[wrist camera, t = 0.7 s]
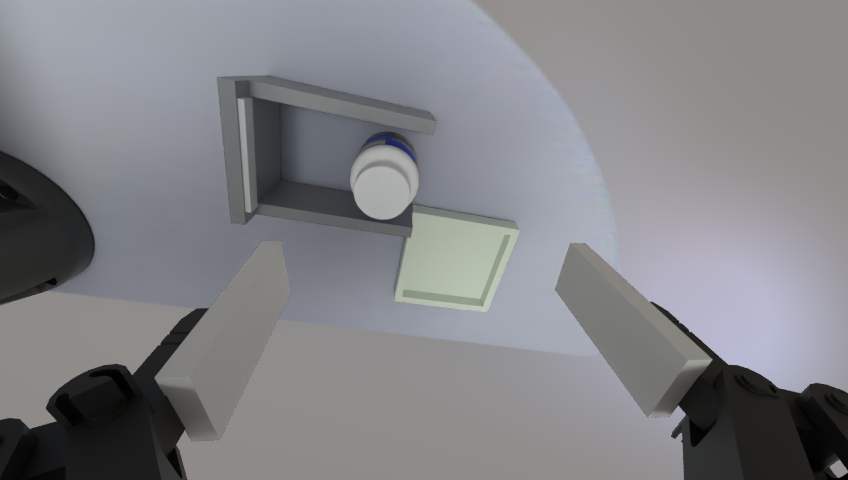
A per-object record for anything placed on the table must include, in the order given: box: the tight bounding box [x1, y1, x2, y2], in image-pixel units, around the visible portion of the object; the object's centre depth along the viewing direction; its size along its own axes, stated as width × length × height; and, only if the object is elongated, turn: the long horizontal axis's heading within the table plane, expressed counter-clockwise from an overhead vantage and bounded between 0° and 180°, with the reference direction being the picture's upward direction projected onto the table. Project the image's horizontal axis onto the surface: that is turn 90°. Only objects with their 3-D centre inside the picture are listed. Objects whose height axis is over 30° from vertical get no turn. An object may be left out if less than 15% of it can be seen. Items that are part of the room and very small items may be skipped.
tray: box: [394, 204, 520, 312], centre depth 35 cm, size 12×12×2 cm
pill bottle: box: [350, 132, 419, 220], centre depth 25 cm, size 5×5×10 cm
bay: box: [217, 76, 436, 238], centre depth 25 cm, size 14×10×8 cm
